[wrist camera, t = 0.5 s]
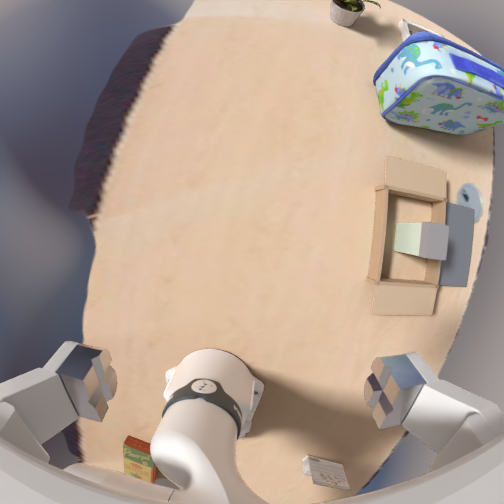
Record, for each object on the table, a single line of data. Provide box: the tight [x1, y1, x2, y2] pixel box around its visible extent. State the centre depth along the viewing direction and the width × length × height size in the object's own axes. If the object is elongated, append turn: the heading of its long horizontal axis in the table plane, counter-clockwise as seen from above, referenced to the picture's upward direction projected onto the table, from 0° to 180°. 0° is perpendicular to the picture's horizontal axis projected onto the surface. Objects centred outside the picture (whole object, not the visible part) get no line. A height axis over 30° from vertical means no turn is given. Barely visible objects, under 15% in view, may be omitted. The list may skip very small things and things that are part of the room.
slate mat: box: [438, 202, 474, 287], centre depth 44 cm, size 16×9×1 cm, turn 175°
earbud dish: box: [399, 19, 444, 42], centre depth 40 cm, size 12×12×2 cm
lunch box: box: [373, 32, 504, 135], centre depth 32 cm, size 26×11×21 cm, turn 93°
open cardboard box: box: [366, 156, 447, 315], centre depth 43 cm, size 26×14×4 cm, turn 175°
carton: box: [123, 436, 157, 483], centre depth 50 cm, size 8×16×4 cm, turn 166°
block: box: [394, 222, 449, 260], centre depth 40 cm, size 5×4×11 cm
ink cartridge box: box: [302, 455, 351, 490], centre depth 45 cm, size 2×11×10 cm, turn 59°
